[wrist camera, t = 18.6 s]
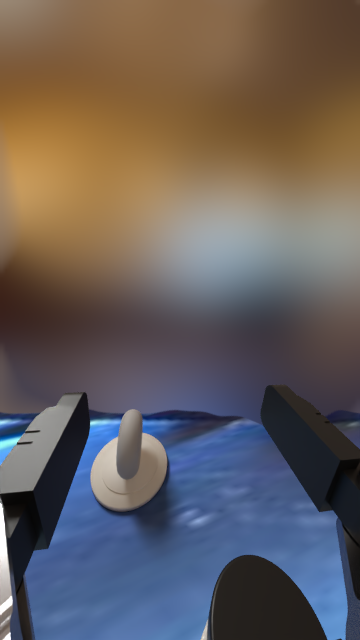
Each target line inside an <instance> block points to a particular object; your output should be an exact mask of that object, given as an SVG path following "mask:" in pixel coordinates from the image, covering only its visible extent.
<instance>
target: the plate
mask: <svg viewBox="0 0 360 640" xmlns="http://www.w3.org/2000/svg"><path fill="white" fill-rule="evenodd" d="M117 443H118V437H117V438H115V439H113V440H112V441H110V442H109V443H108V444H107V445H105V447H104V448H103V449H102V450H101V451H100V452H99V454H98V455H97V457H96V459H95V461H94V463H93V466H92V470H91V486H92V491H93V494H94V496H95V498H96V499H97V501H98V502H99V503H100V504H101V505H102V506H104V507H105V508H107V509H109V510H113V511H118V512H125V511H131V510H134V509H137V508H139V507H141V506H143V505H144V504H146V503H147V502H149V501H150V500H151V499H152V498H153V497H154V496H155V495H156V494H157V492H158V491H159V490H160V488H161V486H162V484H163V482H164V480H165V476H166V471H167V456H166V452H165V450H164V447H163V446H162V444H161V443H160V442H159V441H158V440H157V439H156V438H154V437H153V436H151V435H149V434H146V433H142V446H141V457H140V465H139V469H138V472H137V474H136V475H135V476H134V477H133V478H131V479H128V480H125V479H123V478H121V477H120V476H119V474H118V472H117V467H116V455H117Z"/></svg>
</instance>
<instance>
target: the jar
mask: <svg viewBox="0 0 360 640" xmlns="http://www.w3.org/2000/svg"><path fill="white" fill-rule="evenodd" d="M201 640H327V637H326V635H325V633H324V630H323V628H322V626H321V624H320V622H319V620H318V618H317V616H316V614H315V612H314V610H313V609H312V607H311V605H310V604H309V602H308V600H307V599H306V597H305V596H304V595H303V593H302V592H301V590H300V589H299V588H298V586H297V585H296V584H295V583H294V582H293V580H292V579H291V578H290V577H289V576H288V575H287V574H286V573H285V572H284V571H283V570H281V569H280V568H279V567H278V566H276V565H275V564H273V563H272V562H270V561H268V560H267V559H264V558H262V557H259V556H255V555H243V556H239V557H237V558H235V559H233V560H232V561H230V562H229V563H228V564H227V565H226V566H225V568H224V569H223V570H222V572H221V574H220V575H219V577H218V580H217V582H216V585H215V588H214V591H213V596H212V601H211V606H210V611H209V617H208V620H207V623H206V626H205V629H204V632H203V634H202V637H201Z"/></svg>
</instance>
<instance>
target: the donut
mask: <svg viewBox="0 0 360 640" xmlns="http://www.w3.org/2000/svg"><path fill="white" fill-rule="evenodd" d="M141 446H142V415H141V413H140V412H139V411H137V410H129V411H127V412H126V413H125V414H124V416H123V418H122V421H121V424H120V429H119V435H118V443H117V455H116V467H117V472H118V474H119V476H120V477H121V478H123V479H125V480H128V479H131V478H133V477H134V476H135V475H136V474H137V472H138V469H139V465H140V457H141Z"/></svg>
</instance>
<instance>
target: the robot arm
mask: <svg viewBox="0 0 360 640" xmlns="http://www.w3.org/2000/svg"><path fill="white" fill-rule="evenodd" d="M261 420H262V423H263V426H264V427H265V429H266V431H267V432H268V434H269V435H270V437H271V438H272V440H273V441H274V443H275V444H276V446H277V447H278V449H279V451H280V452H281V454H282V455H283V457H284V458H285V460H286V461H287V463H288V464H289V466H290V468H291V469H292V471H293V472H294V474H295V475H296V477H297V478H298V480H299V481H300V483H301V485H302V486H303V488H304V489H305V491H306V492H307V494H308V495H309V497H310V498H311V500H312V501H313V503H314V505H315V506H316V508H317V509H318V511H319V512H323V511H330V510H333V511H334V512H335V513H336V515H337V516H338V518H337V521H336V528H337V534H338V541H339V548H340V554H341V561H342V568H343V574H344V581H345V588H346V594H347V603H348V615H347V622H346V640H360V449H359V448H358V447H357V446H355V445H354V444H353V443H352V442H351V441H350V440H349V439H348V438H347V437H346V436H345V435H344V434H343V433H342V432H341V431H339V430H338V429H337V428H336V427H335V426H334V425H333V424H332V423H330V421H329V420H328V419H327V418H326V417H325V416H323V415H321V413H320V412H319V411H318V410H317V409H316V408H315V407H314V406H313V405H311V403H309V402H307V401H306V400H304V399H303V398H301V397H299V396H297V395H296V394H295V393H294V392H293V391H292V390H291V389H290V388H289V387H288V386H286V385H269V386H267V387H266V390H265V394H264V399H263V403H262V408H261ZM89 430H90V417H89V408H88V399H87V394H86V393H85V392H81V393H65V394H64V395H63V396H62V398H61V399H60V401H59V402H58V404H57V405H56V407H48V408H47V409H46V410H45V411H43V412H42V413H41V414H40V415H38V416H37V417H36V418H35V419H34V420H33V422H32V423H31V424H30V426H29V427H28V428H27V430H26V432H25V434H23V435H22V437H21V438H20V439H19V441H18V442H17V445H16V446H14V448H13V449H12V450H11V452H10V453H9V454H8V456H7V457H6V459H5V460H4V461H3V463H2V464H1V465H0V640H35V635H34V629H33V623H32V616H31V610H30V603H29V597H28V590H27V584H26V577H25V571H26V568H27V566H28V563H29V561H30V558H31V556H32V553H33V551H35V550H42V549H48V547H49V545H50V542H51V539H52V536H53V534H54V531H55V528H56V525H57V522H58V520H59V517H60V514H61V511H62V509H63V506H64V503H65V500H66V497H67V495H68V492H69V489H70V486H71V484H72V481H73V478H74V475H75V472H76V470H77V467H78V464H79V461H80V459H81V456H82V453H83V450H84V447H85V445H86V442H87V439H88V436H89ZM337 640H342V639H337Z"/></svg>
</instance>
